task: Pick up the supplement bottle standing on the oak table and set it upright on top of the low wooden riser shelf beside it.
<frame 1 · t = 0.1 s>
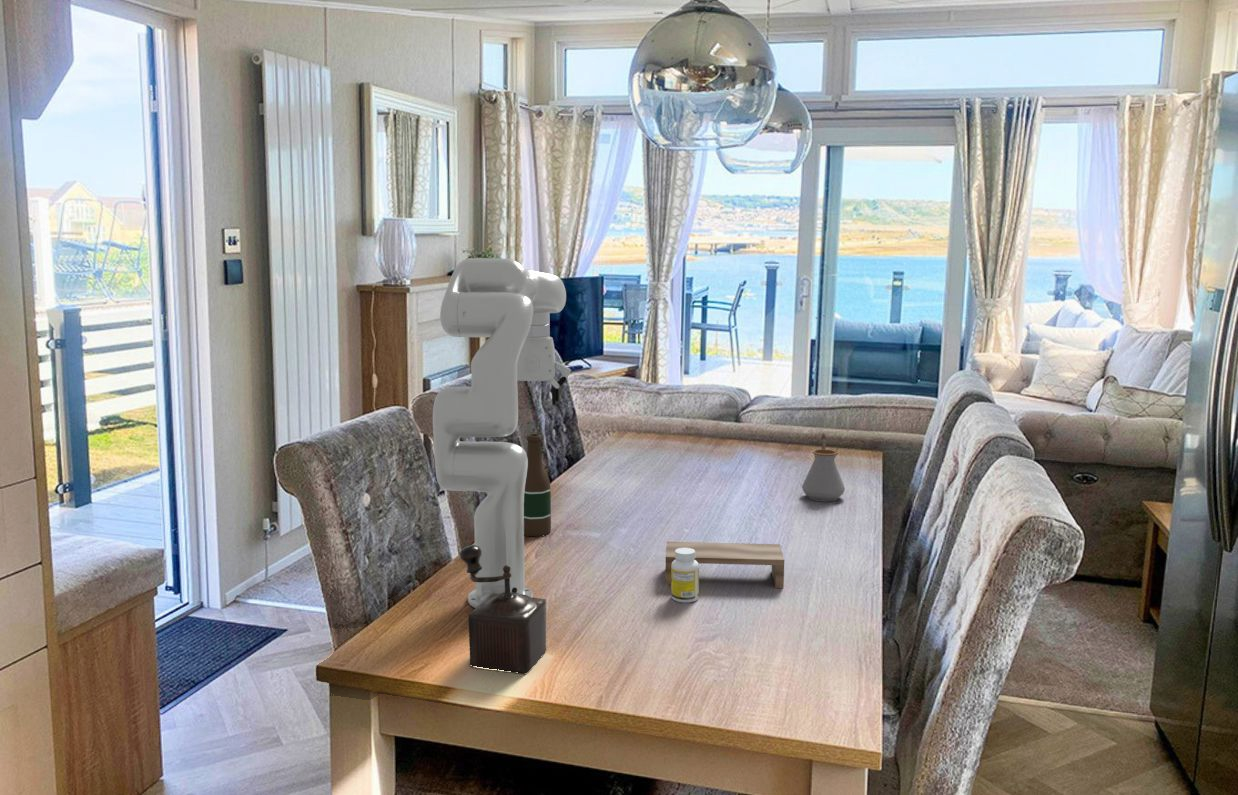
hand: (534, 404, 230), 31 cm above the table, tool pointing down, fingers open, 9 cm apart
coffee pot: (822, 493, 270), on the table
manual coffee grinder: (496, 657, 166), on the table
beer bottle: (535, 533, 234), on the table
supplement bottle: (684, 599, 193), on the table
wooden riser shelf: (723, 578, 204), on the table
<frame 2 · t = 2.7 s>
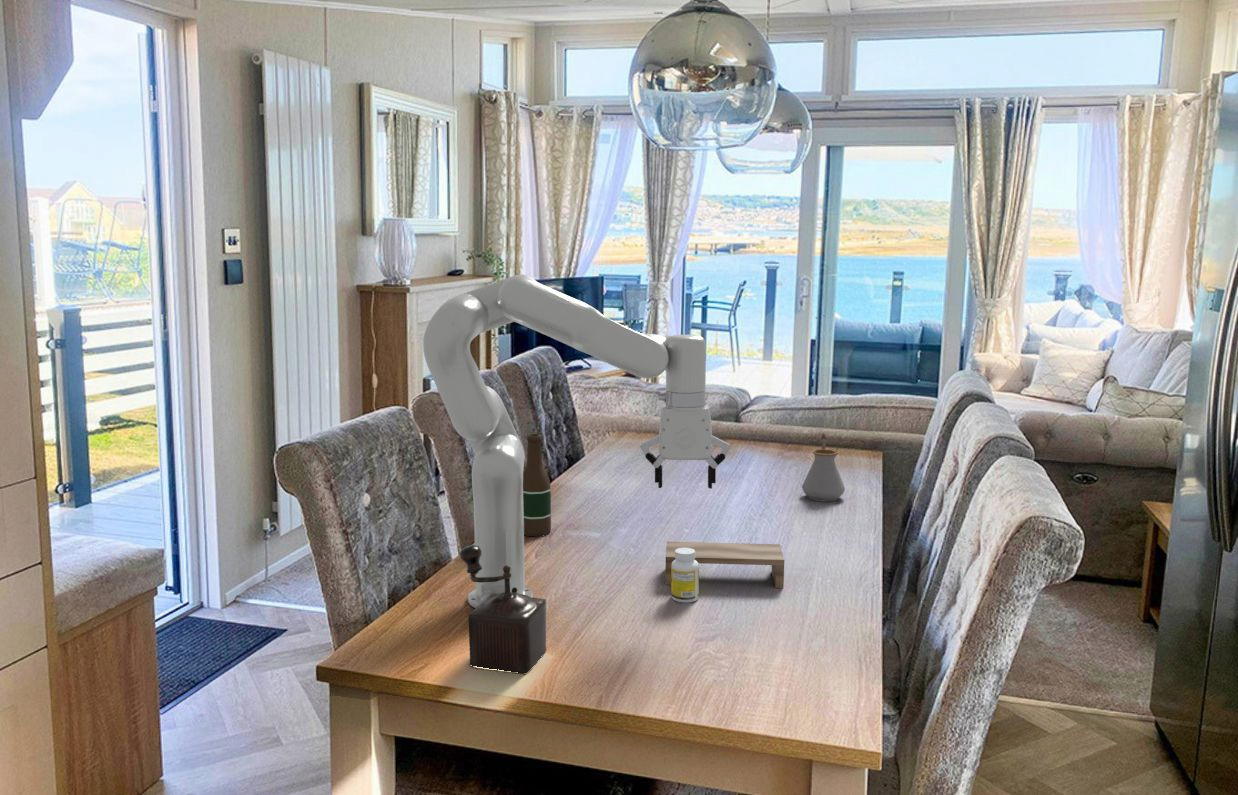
hand: (685, 486, 189), 23 cm above the table, tool pointing down, fingers open, 9 cm apart
nothing on the table moved.
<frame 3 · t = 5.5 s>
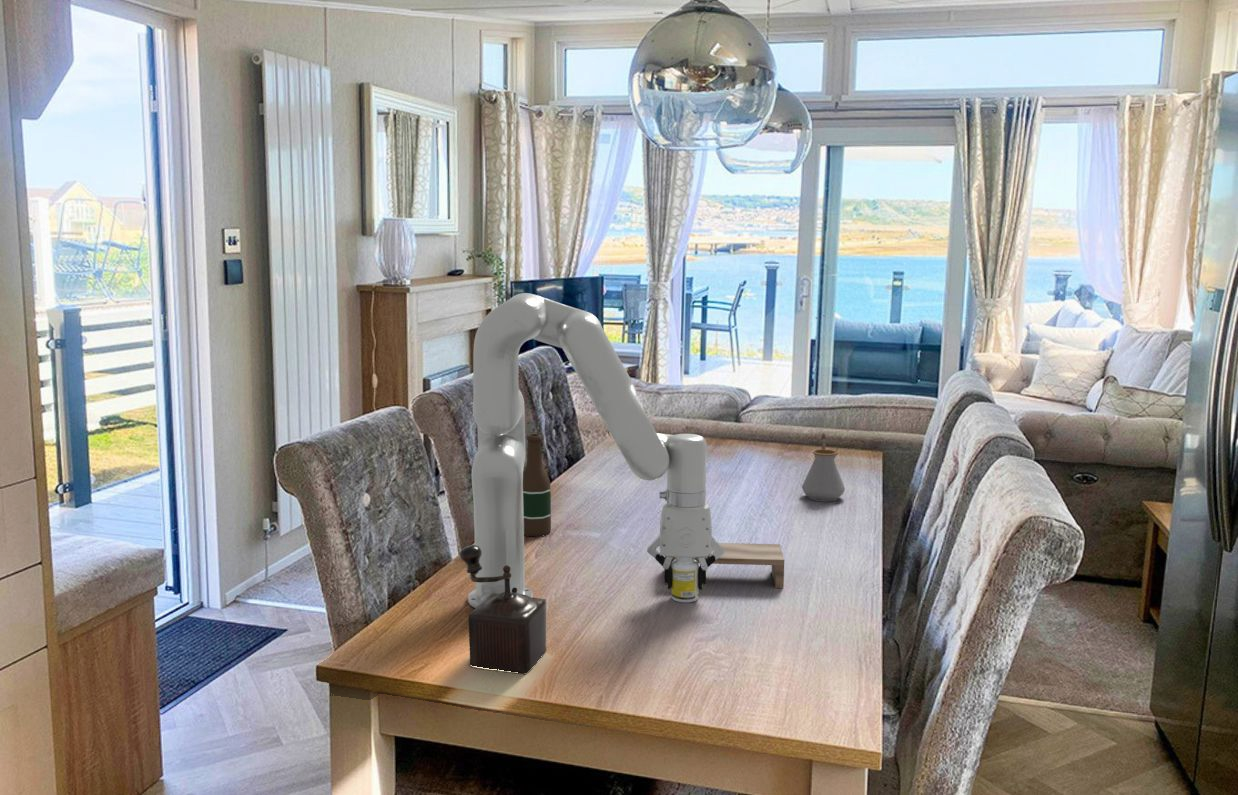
hand: (684, 586, 192), 3 cm above the table, tool pointing down, fingers closed on supplement bottle, 5 cm apart
supplement bottle: (684, 599, 193), on the table, touching gripper
everything else where it was.
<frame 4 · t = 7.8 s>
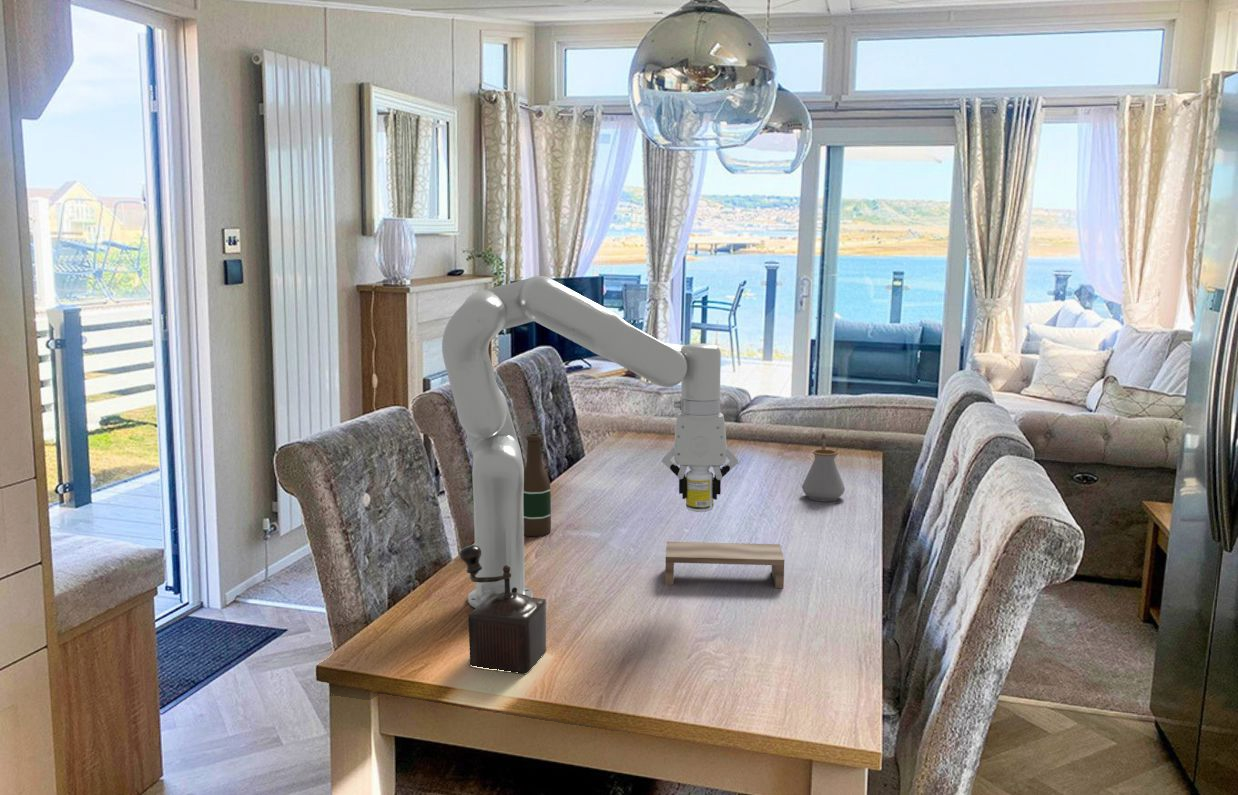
hand: (699, 496, 193), 20 cm above the table, tool pointing down, fingers closed on supplement bottle, 5 cm apart
supplement bottle: (699, 509, 193), point 17 cm above the table, touching gripper
everything else where it was.
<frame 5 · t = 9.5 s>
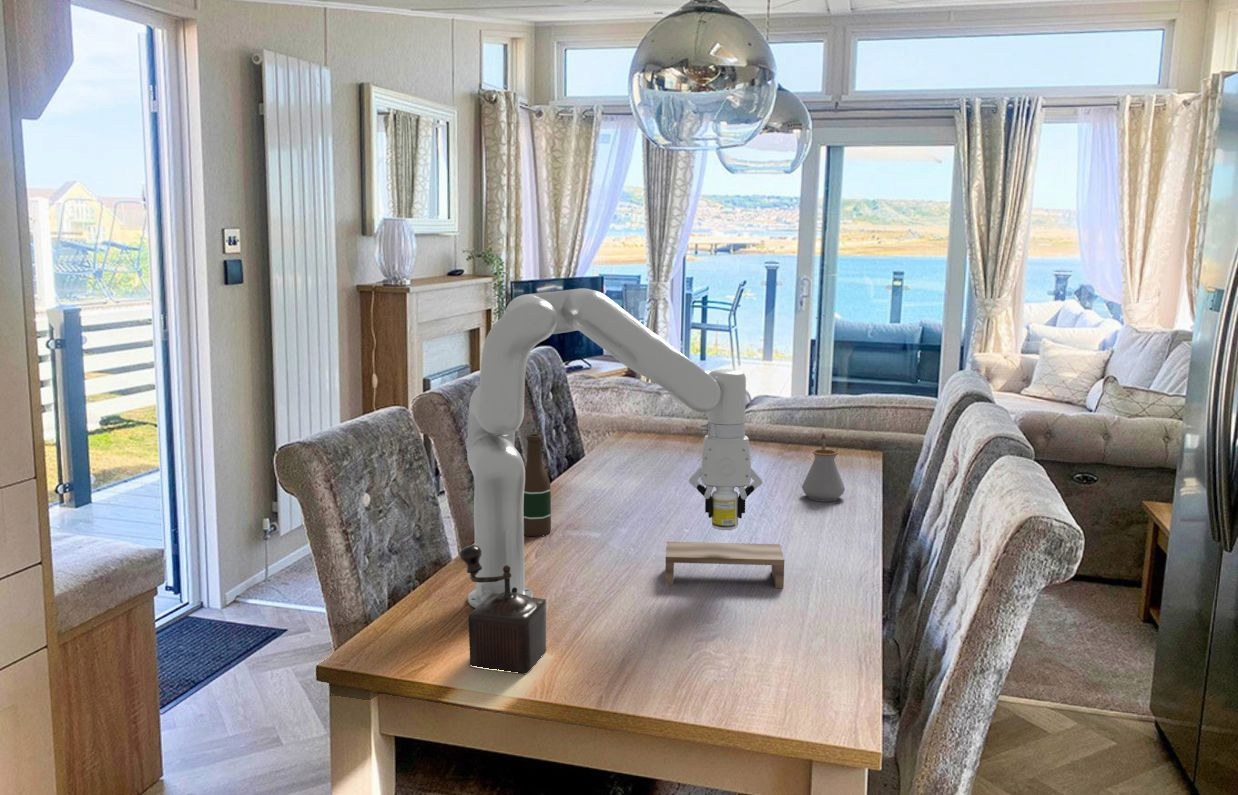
hand: (724, 515, 201), 14 cm above the table, tool pointing down, fingers closed on supplement bottle, 5 cm apart
supplement bottle: (724, 527, 202), point 11 cm above the table, touching gripper
everything else where it was.
when the fingers open (10 cm above the table, at t = 10.6 s): supplement bottle drops 1 cm, resting on wooden riser shelf.
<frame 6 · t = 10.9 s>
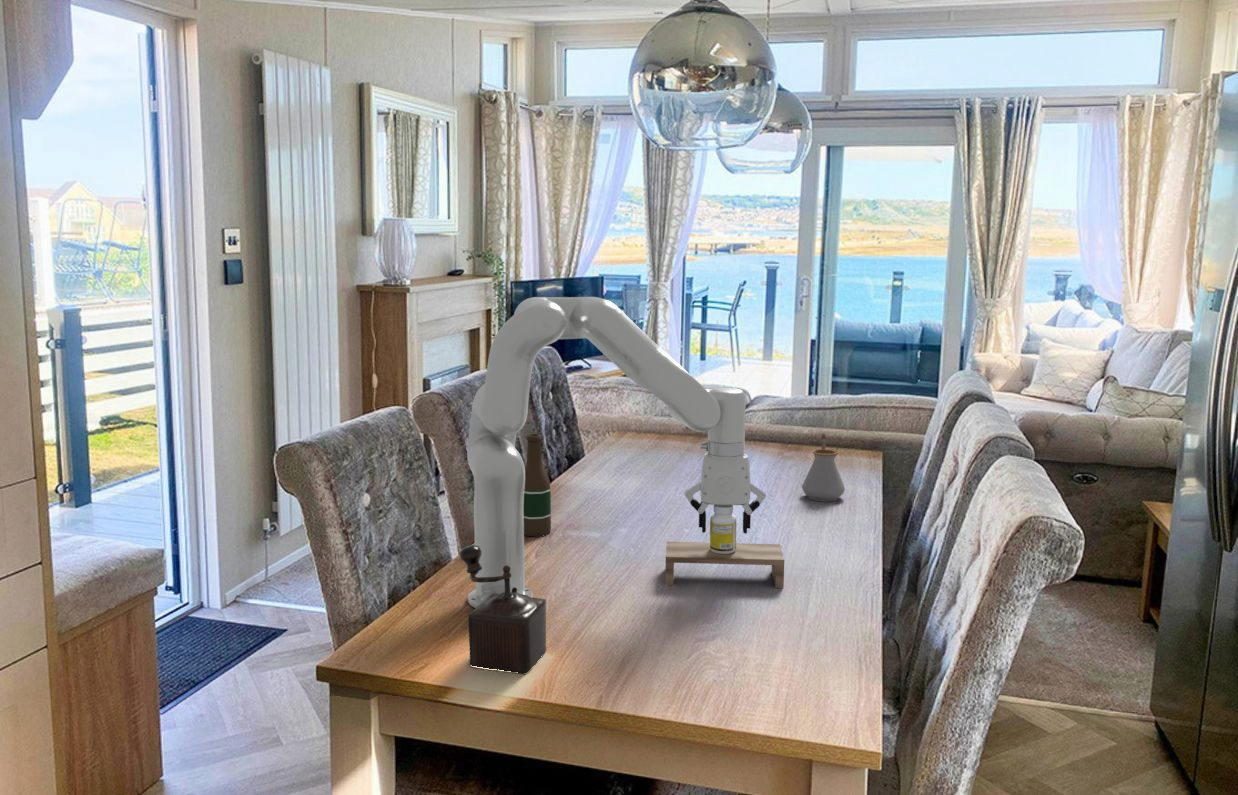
hand: (724, 530, 202), 10 cm above the table, tool pointing down, fingers open, 8 cm apart
supplement bottle: (722, 551, 203), point 6 cm above the table, touching wooden riser shelf
everything else where it was.
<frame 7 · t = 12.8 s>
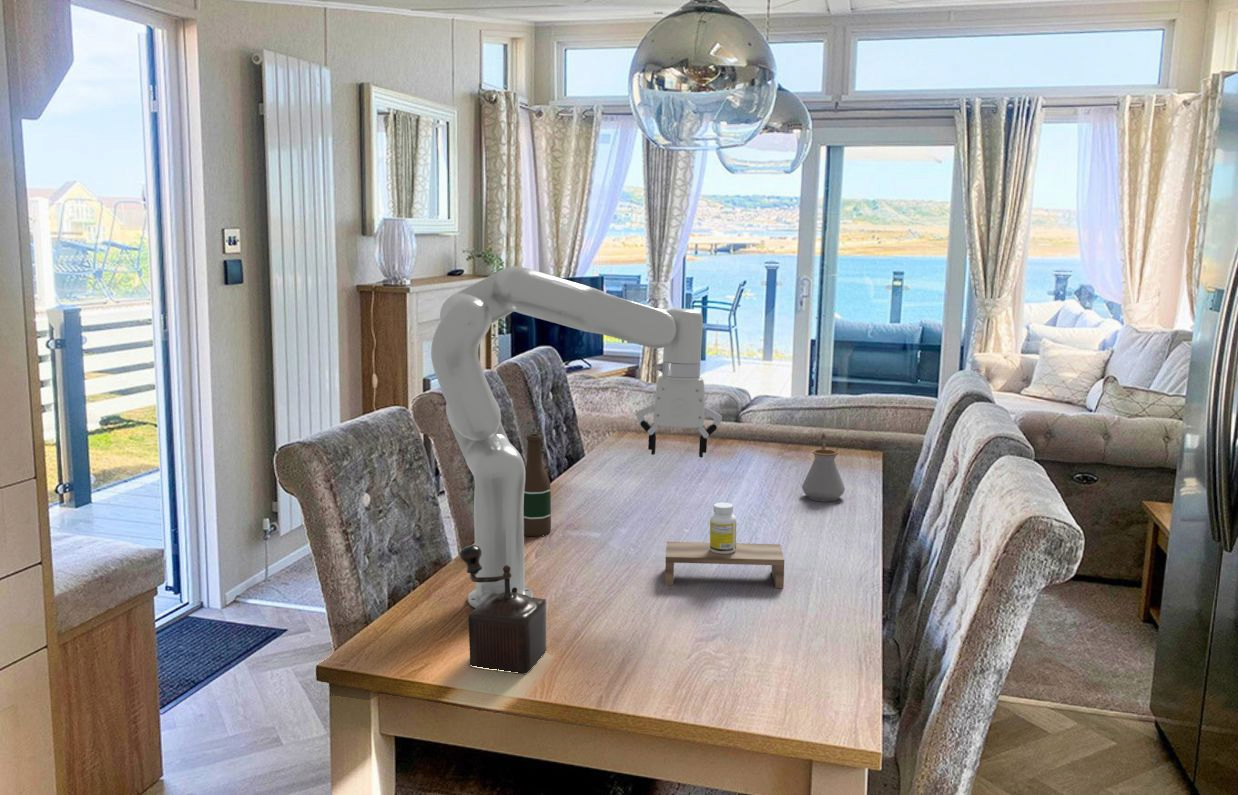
hand: (677, 454, 197), 27 cm above the table, tool pointing down, fingers open, 9 cm apart
nothing on the table moved.
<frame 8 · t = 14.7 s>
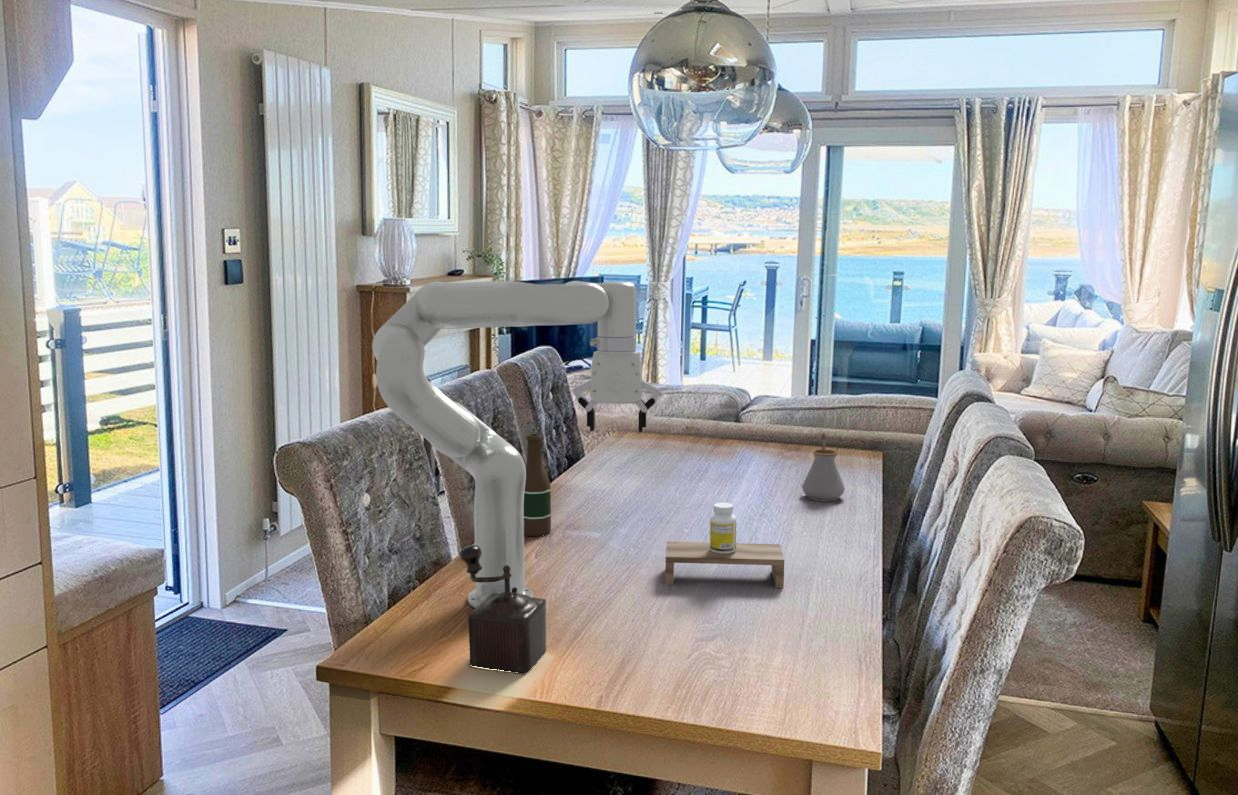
hand: (616, 430, 194), 32 cm above the table, tool pointing down, fingers open, 9 cm apart
nothing on the table moved.
at the end: supplement bottle inside the target area on the wooden riser shelf (0.2 cm from its centre), point 5.8 cm above the wooden riser shelf's base; supplement bottle tilted 0°; supplement bottle touching wooden riser shelf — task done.
